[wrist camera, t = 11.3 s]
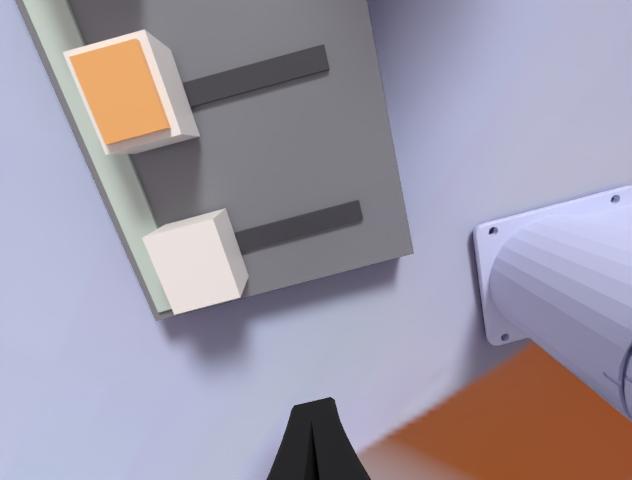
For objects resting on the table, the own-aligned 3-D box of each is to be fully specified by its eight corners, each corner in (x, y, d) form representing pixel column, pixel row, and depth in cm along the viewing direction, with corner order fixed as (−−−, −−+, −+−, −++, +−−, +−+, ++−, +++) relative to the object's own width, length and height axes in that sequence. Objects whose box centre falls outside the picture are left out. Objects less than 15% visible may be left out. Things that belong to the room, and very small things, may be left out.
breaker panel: (315, -203, 14) (318, -266, 12) (402, 242, 19) (415, 254, 17) (-4, -111, 14) (-58, -157, 12) (169, 303, 20) (154, 322, 17)
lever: (225, 208, 16) (213, 219, 14) (248, 276, 17) (240, 297, 15) (165, 224, 16) (142, 237, 14) (191, 290, 17) (174, 314, 15)
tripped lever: (170, 49, 14) (140, 26, 11) (200, 136, 15) (178, 133, 12) (102, 68, 14) (56, 49, 11) (136, 153, 15) (101, 155, 12)
